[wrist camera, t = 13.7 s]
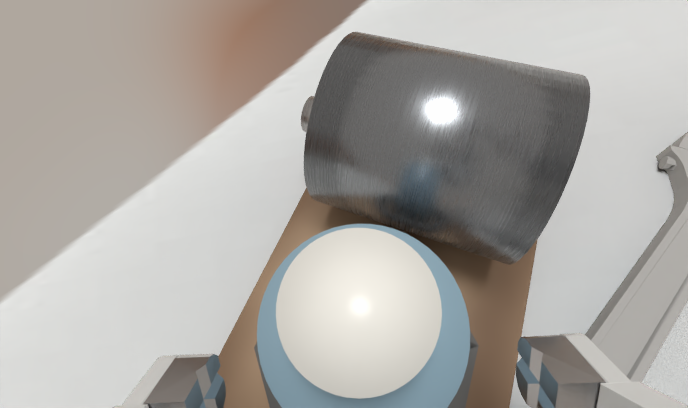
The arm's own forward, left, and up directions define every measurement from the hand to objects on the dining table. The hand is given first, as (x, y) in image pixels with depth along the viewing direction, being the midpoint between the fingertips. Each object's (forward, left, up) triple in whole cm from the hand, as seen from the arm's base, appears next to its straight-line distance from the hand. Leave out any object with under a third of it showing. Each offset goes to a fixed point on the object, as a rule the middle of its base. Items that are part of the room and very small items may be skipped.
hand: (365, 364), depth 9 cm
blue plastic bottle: (0, -1, -9) cm, 9 cm away
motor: (+2, -11, -9) cm, 14 cm away
